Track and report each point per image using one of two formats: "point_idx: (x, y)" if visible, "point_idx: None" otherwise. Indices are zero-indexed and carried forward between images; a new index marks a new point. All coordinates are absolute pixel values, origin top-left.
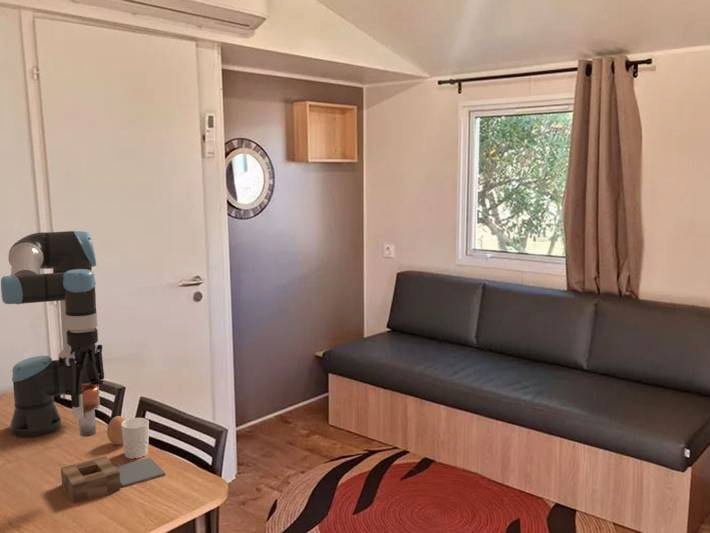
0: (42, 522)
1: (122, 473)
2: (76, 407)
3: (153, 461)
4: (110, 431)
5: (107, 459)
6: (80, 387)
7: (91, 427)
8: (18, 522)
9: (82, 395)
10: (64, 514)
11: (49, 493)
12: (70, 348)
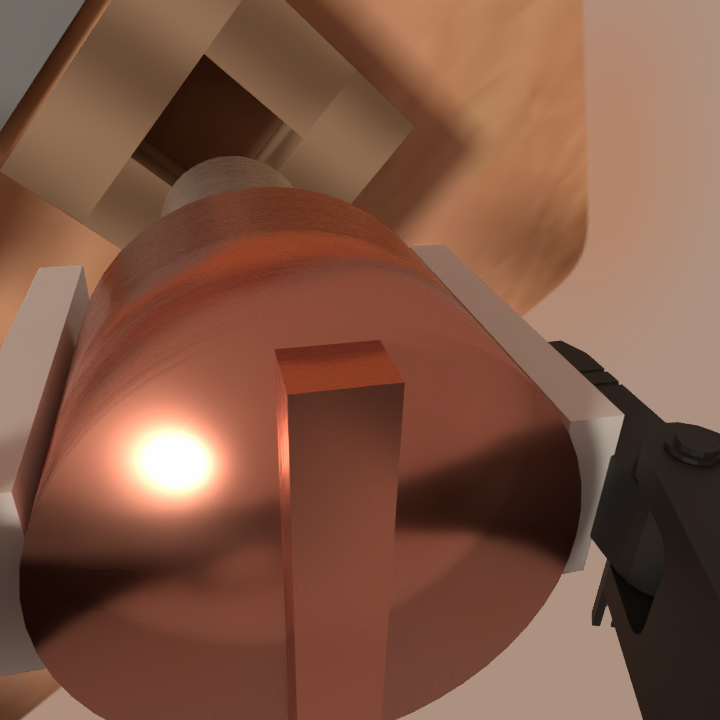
0: (556, 140)
1: (3, 14)
2: (557, 349)
3: None
4: None
5: (37, 126)
6: (715, 533)
7: (275, 182)
8: (561, 239)
9: (561, 404)
10: (485, 84)
11: None
12: None
